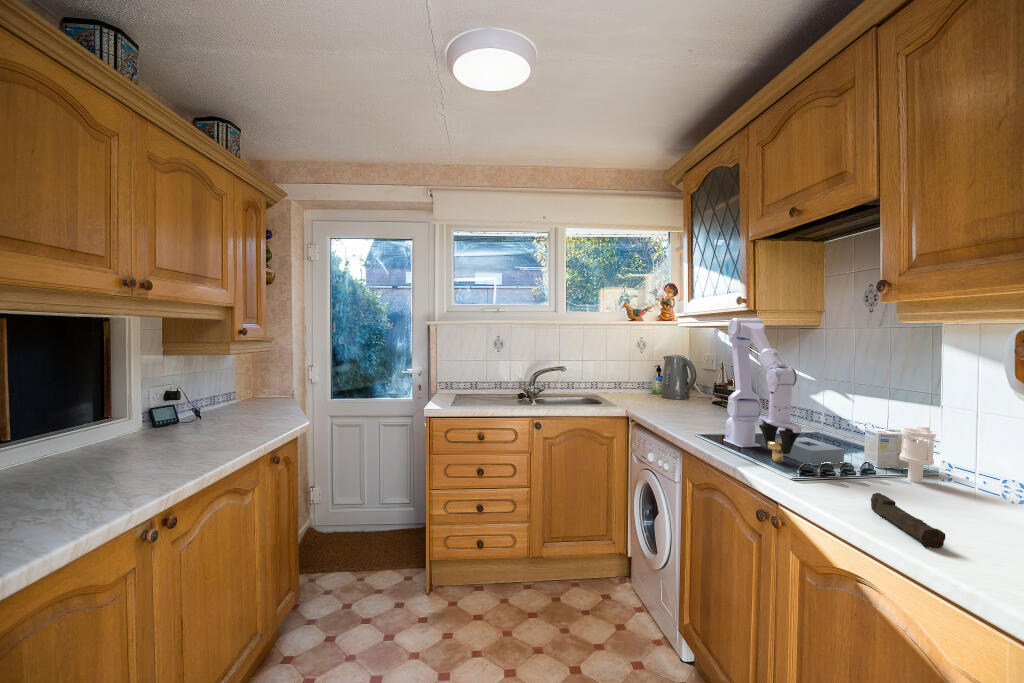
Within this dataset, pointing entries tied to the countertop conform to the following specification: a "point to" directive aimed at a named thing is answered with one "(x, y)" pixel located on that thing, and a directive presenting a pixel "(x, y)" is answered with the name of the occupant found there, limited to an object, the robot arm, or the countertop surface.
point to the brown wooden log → (907, 521)
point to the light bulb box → (884, 448)
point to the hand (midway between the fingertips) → (777, 450)
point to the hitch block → (815, 451)
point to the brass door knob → (776, 450)
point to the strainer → (917, 450)
